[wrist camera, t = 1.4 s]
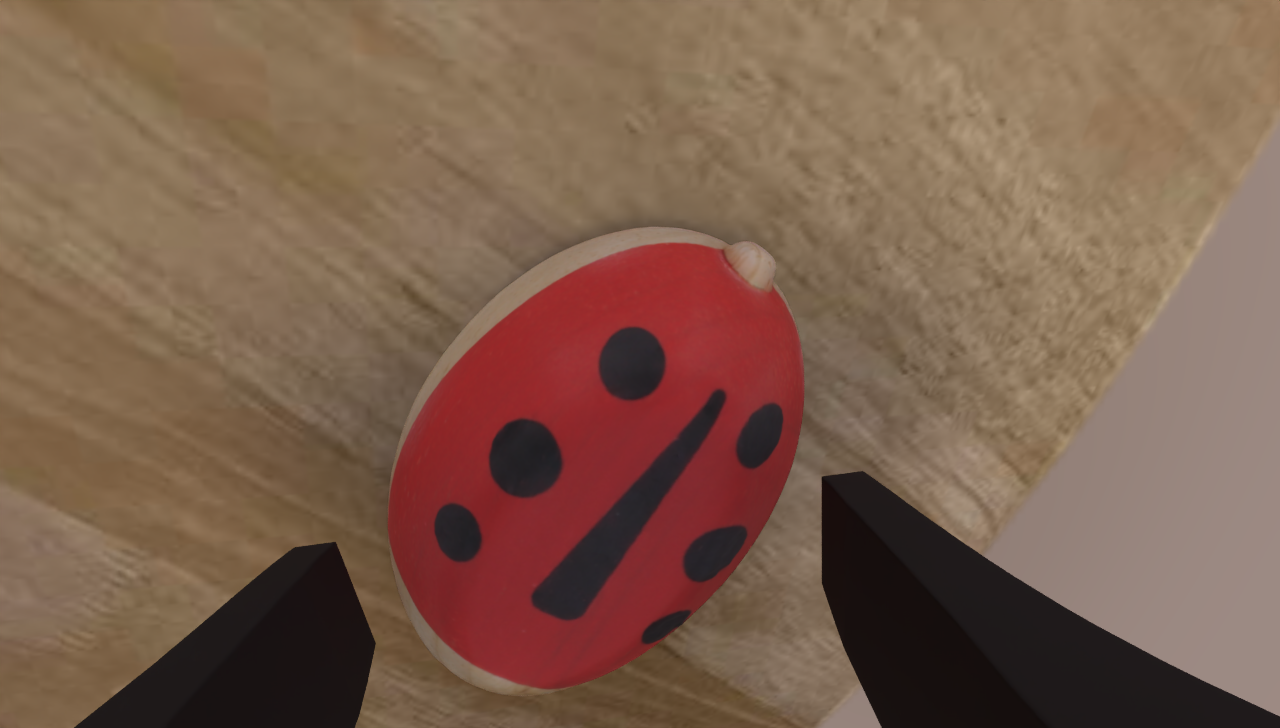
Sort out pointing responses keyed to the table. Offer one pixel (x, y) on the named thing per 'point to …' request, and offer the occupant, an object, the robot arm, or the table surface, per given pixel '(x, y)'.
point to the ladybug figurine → (594, 457)
